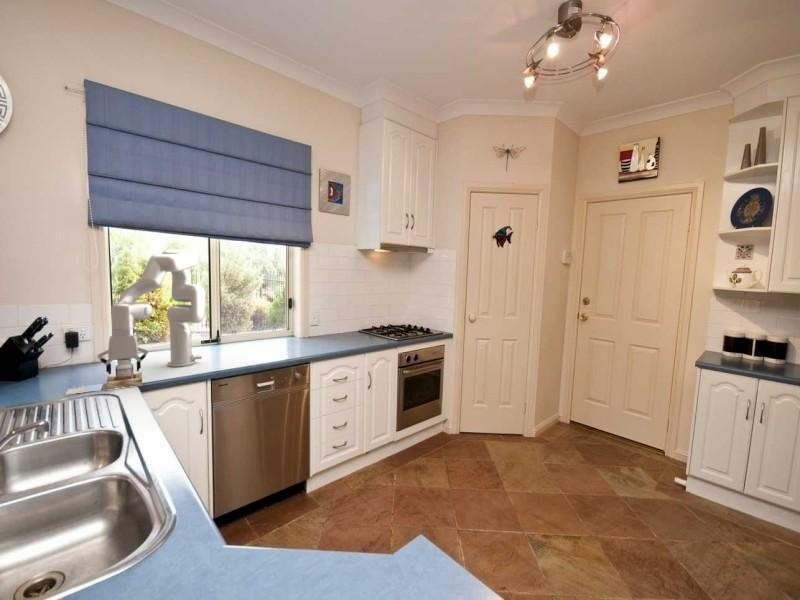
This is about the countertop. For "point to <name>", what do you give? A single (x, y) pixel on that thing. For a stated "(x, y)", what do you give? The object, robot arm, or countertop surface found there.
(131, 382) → the holder block
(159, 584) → the countertop surface
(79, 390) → the cream pad
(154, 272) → the robot arm
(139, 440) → the countertop surface
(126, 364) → the pill bottle
